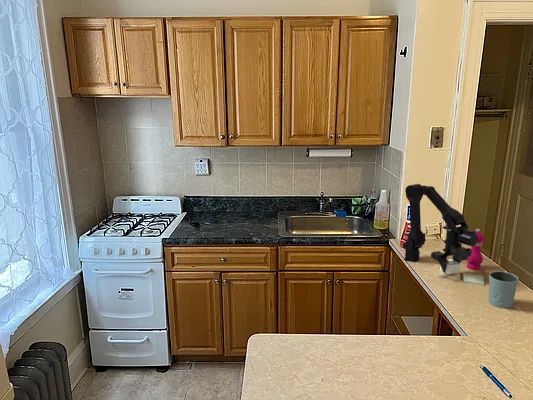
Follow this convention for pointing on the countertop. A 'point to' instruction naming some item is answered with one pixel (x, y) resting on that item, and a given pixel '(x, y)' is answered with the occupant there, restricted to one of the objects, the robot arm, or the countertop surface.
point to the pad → (473, 279)
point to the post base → (449, 275)
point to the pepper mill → (476, 253)
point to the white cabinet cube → (452, 267)
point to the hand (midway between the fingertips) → (449, 271)
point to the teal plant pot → (502, 289)
